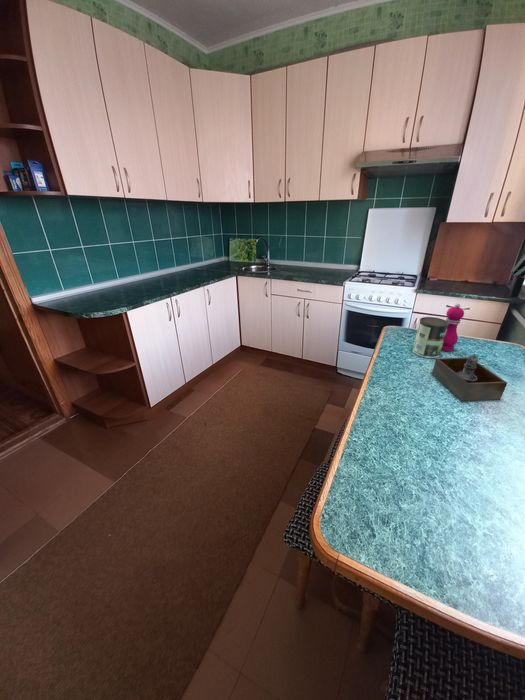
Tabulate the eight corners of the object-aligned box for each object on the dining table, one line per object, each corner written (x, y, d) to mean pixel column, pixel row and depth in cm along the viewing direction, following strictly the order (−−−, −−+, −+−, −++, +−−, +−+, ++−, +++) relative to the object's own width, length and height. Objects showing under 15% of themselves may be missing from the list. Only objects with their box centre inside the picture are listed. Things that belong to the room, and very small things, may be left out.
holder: (464, 372, 107) (470, 357, 104) (500, 400, 92) (507, 382, 89) (431, 374, 106) (436, 358, 103) (461, 401, 91) (467, 384, 88)
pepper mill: (434, 349, 124) (446, 304, 115) (436, 343, 129) (448, 300, 120) (453, 353, 120) (468, 307, 111) (455, 347, 125) (469, 302, 116)
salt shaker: (451, 379, 102) (461, 348, 96) (469, 381, 101) (480, 350, 95) (457, 388, 97) (468, 357, 91) (477, 390, 96) (489, 358, 90)
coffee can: (442, 352, 122) (452, 320, 115) (435, 361, 115) (445, 328, 108) (416, 345, 128) (424, 314, 121) (408, 353, 121) (416, 321, 115)
